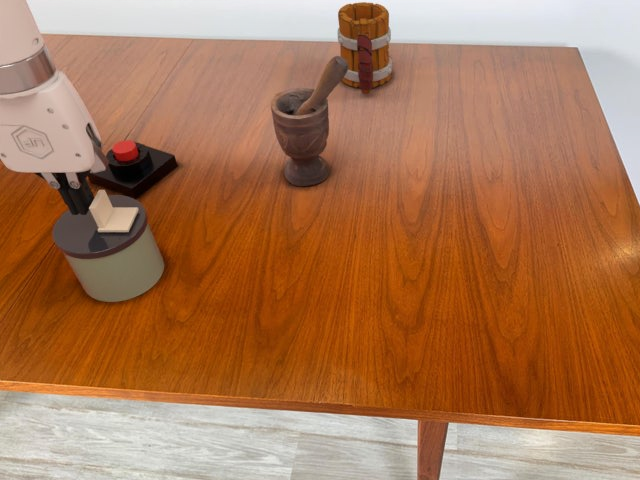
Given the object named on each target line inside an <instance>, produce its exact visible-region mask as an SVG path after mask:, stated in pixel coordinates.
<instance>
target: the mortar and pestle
mask: <svg viewBox="0 0 640 480" xmlns="http://www.w3.org/2000/svg"><path fill="white" fill-rule="evenodd" d="M347 71H348V63H347V61H346V60H345V59H344V58H342V57H341V55H335V56H334V57H332V58H331V59H330V60H329V61H328V63H327V64H326V66H325V68H324V70H323V72H322V74H321V75H320V78H319V80H318V82H317V84H316V86H315V88H308V87H307V88H306V87H296V88H295V87H294V88H290V89H286V90H283V91H278V92H277V93H276V94H275V95H274V96H273V97H272V99H271V101H270V111H271V115H272V121H273V123H272V124H273V127H274V133H275V136H276V139H277V142H278V145H279V146H280V149H281V150H282V152H283V153H284V154H285V155H286V156H288V157H290V158H289V159H288V160H287V161H286V163H285V166H284V172H283V173H284V177H285V179H286V181H287V182H288V183H290V184H291V185H294V186H297V187H311V186H315V185H317V184H320V183H321V182H323V181H324V180H325V179H327V178H328V176H329V174H330V169H329V165H328V163H327V161H326V160H325V158H323V157H322V156H321V154H322V153H323V152H324V151H325V149H326V147H327V144H328V142H327V141H328V138H329V135H330V118H329V100H328V98H329V96H330V95H331V94H332V92H333V91H334V90H335V88H337V87H338V85H339V84H340V83H341V82H342V79H343V78H344V76H345V75H346V73H347Z"/></svg>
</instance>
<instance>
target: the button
mask: <svg viewBox="0 0 640 480" xmlns="http://www.w3.org/2000/svg"><path fill="white" fill-rule="evenodd" d="M134 142H135V141H134V140H130V141H129V139H128V140H127V139H126V140H121V141H118V142H116V143H115V144H113V146H112V148H111V149H112V150H113V152H114V155H115V157H116V159H117V160H118V161H129V160H132V159H135V158H136V157H137V156H138V155H139V152H138V149H137V147H136V144H135V143H134Z"/></svg>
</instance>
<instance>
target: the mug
mask: <svg viewBox="0 0 640 480" xmlns="http://www.w3.org/2000/svg"><path fill="white" fill-rule="evenodd" d="M337 18H338V27H337V41H338V43H339V45H340V46H339V48H340V51H339V53H340V57H342V58H344V59H345V60H346V61H347V63H348V71H347V73H346V75H345V76H344V78H343V79H342V80H341V82H342V83H343V84H345V85H347V86H349V87H351V88H352V87H353V88H355V89H358V88H359V89H361V93H362V94H365V95H366V94H367V95H368V94H370V93H371V90H374V88H378V87H379V86H380V87H381V86H382V85H385V83H388V82H389V81H390V79H391V77H392V72H393V61H392V58H391V56H390V51H389V49H390V44H389V43H390V42H391V40H392V30H391V27H390V12H389V10H388V9H387V8H386V7H385V6H383V5H381V4H379V3H374V2H366V1H365V2H364V1H362V2H354V3H347V4H345V5H343V6H342V7H340V9H338V11H337Z"/></svg>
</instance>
